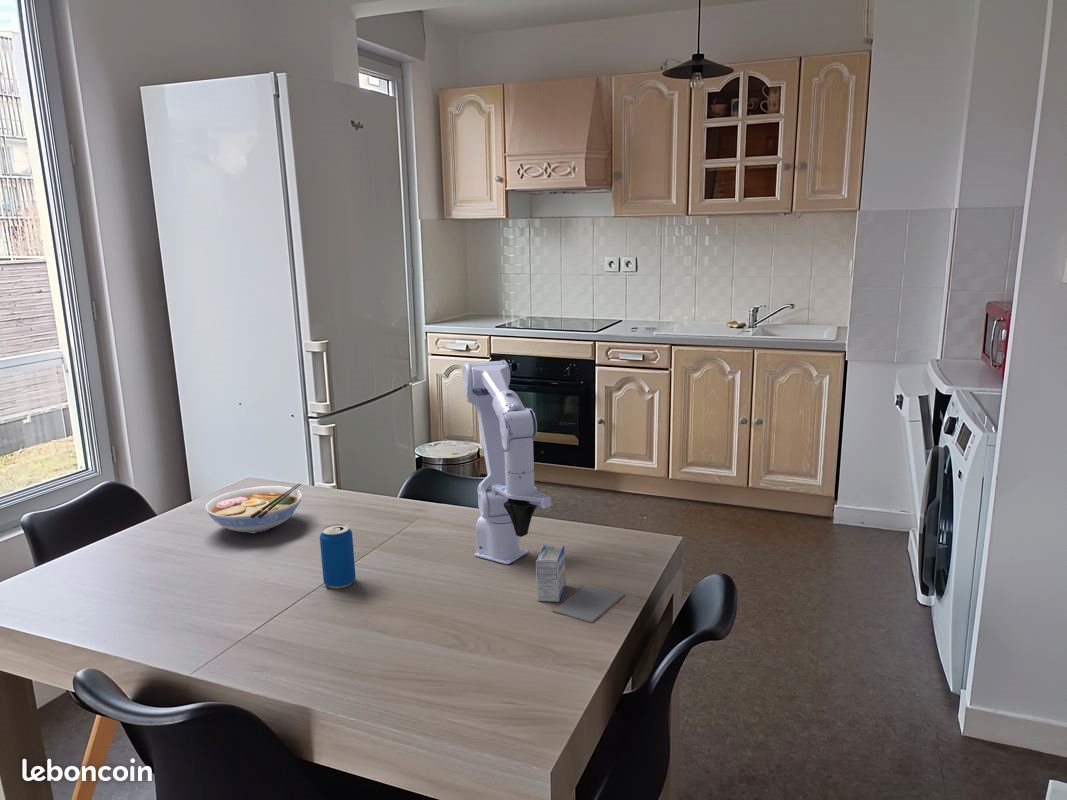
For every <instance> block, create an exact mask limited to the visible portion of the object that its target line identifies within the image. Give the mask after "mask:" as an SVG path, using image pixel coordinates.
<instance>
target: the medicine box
mask: <svg viewBox="0 0 1067 800" xmlns="http://www.w3.org/2000/svg"><path fill="white" fill-rule="evenodd" d="M565 553H566V552H565V546H564V545H560V544H559V545H556V544H544V545H543V547H542V548H541V551H540V553H539V555H538V557H537V559H536V560H535V576H536V596H537V601H539V602H549V603H550V602H551V603H554V602H555V603H559V602H561V601H560V600H561V597H562V594H563V592H564V589H565V588H566V587H565V586H566V555H565Z"/></svg>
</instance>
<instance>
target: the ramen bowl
mask: <svg viewBox="0 0 1067 800" xmlns="http://www.w3.org/2000/svg"><path fill="white" fill-rule="evenodd" d="M301 485H302V483H297V484H296V485H295V486H293V487H291V486H283V485H282V486H281V485H261V486H253V487H245V488H240V489H236V490H232V491H228V492H226V493H223V494H220V495H218V496H216V497H213V498H211V499H210V500H209V501H208V502H207V503H206V504H205V505H204V506H205V511H206V513H207V515H208V516H209V517H210V518H211V519H212V520H213V521H214V522H215V523H216V524H218V525H219V526H222V528H225V529H228V530H230V531H233V532H242V533H245V532H260V533H262V532H261V531H264V532H266V531H265V530H267V531H269V530H271V529H273V528H274V527H277V526H279V525H281V524H283V523H285V522H286V521H287V520H288V519H289V518H291V516H292V515H293V514H294V512H295V511H296V509H297V508H298V506H299V505H300V504H301V503H300V502H301V501H302V498H303V494H302V492H301V489H300V490H299V489H298V488H299V487H300V486H301ZM270 528H271V529H270ZM268 529H269V530H268Z"/></svg>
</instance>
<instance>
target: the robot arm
mask: <svg viewBox="0 0 1067 800" xmlns="http://www.w3.org/2000/svg"><path fill="white" fill-rule="evenodd" d="M462 367H463V368H462V381H463V387H464V393H465V398H466V401H467V403H469V404H472V405H474V408H475V411H476V415H477V419H478V424H479V425H478V426H479V431H480V436H481V443H482V449H483V455H484V462H485V466H486V467H485V468H486V473H487V476H485V478H484V479H483V480H482V481H480V483H479V484H478V486H477V495H478V496H477V504H478V505H477V506H478V512H479V514H480V516H479V517H478V519H477V522H476V524H475V547H476V550H475V551H476V552H475V553H474V557H478V558H482V559H484V560H485V559H486V560H489V561H492V562H497V563H499V564H500V563H501V564H503V565H510V564H511V563H513V562H515V561H516V560H518V559H520V558H521V557H523V556H525V555H526V554H528V553H529V550H528V549H526V548H525V549H524V548H521V539H520V538H521V537H525V536H527V535H528V534H529V528H530V524H531V521H532V518H533V515H534V513H535V511H536V509H537V507H538V506H539V507H540V508H541V509H543V510H544V509H547V508H550V507H552V497H551V496H549V495H546V494H544V493H543V492H540V491H539V490H538V489H537V486H535V467H534V466H535V463H534V458H535V457H534V438H536V436H537V433H538V432H537V431H538V423H537V417H536V414H535V412H534V410H533V408H528V407H525V406H524V404H523V402H522V400H521V399H520V397H519V395H518V393H516V392H515V391H514V390H511V389H510V388H509V386H510V383H511V370H510V365H509V363H508V362H507V361H506V360H505V359H501V360H495V361H494V360H492V361H482V362H480V361H478V362H466V363H464V365H463V366H462Z"/></svg>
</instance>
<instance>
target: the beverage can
mask: <svg viewBox="0 0 1067 800" xmlns="http://www.w3.org/2000/svg"><path fill="white" fill-rule="evenodd" d="M320 531H321V533H320V535H319V542H320V545H319V546H320V554H321V555H320V557H321V569H322V578H323V579H322V581H323V584H324V585H325V586H327V587H328V588H330V589H336V590H338V589H343V588H346V587H349V586H350V585H352V584H353V582H355V581H356V577H357V576H356V566H355V563H356V562H355V552H354V541H353V540H354V539H353V531H352V530H351V529H350V525H348V524H346V523H334V524H330V525H326V526H324V527H322V529H321V530H320Z"/></svg>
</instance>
